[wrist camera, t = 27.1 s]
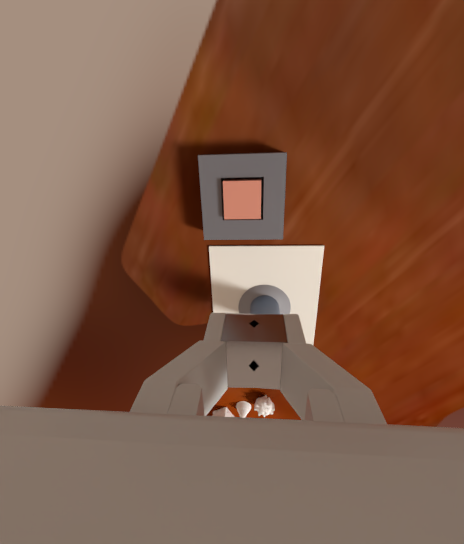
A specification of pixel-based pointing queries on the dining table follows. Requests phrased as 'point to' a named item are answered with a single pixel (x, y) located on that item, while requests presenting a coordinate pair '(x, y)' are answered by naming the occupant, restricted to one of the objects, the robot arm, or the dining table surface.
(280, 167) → the button housing
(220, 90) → the dining table surface
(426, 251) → the dining table surface
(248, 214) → the button
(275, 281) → the paper sheet
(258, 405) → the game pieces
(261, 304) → the blue and white cylinder
